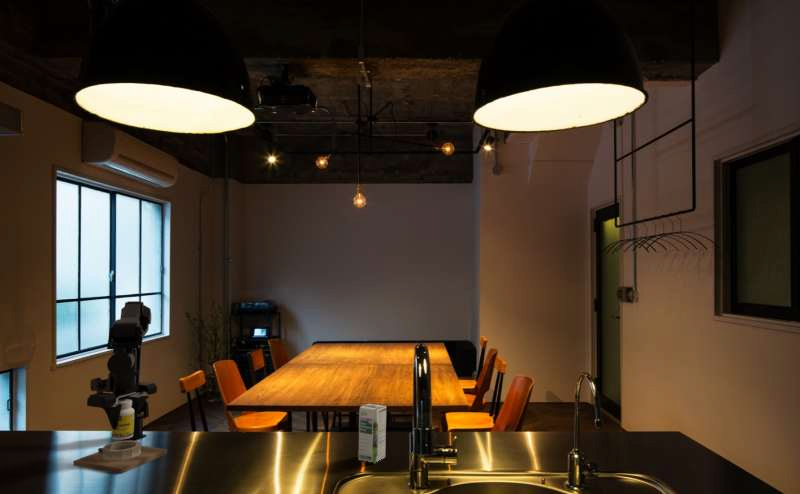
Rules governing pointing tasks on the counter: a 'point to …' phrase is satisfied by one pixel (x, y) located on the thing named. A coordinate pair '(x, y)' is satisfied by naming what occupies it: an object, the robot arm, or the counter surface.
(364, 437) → the syrup box
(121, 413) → the supplement bottle
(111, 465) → the dock
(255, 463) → the counter surface
